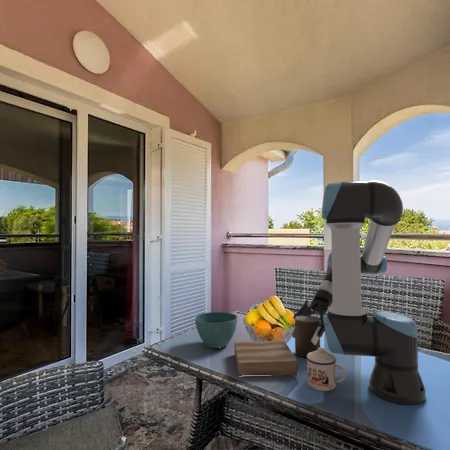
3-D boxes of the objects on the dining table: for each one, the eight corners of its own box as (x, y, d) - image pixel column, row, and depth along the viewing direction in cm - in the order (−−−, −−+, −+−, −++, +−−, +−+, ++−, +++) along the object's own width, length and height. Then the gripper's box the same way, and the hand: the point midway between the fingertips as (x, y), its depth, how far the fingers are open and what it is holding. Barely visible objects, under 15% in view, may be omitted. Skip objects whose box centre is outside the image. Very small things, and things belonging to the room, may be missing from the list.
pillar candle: (316, 359, 122) (315, 319, 123) (291, 354, 128) (291, 316, 128) (323, 351, 131) (322, 314, 131) (299, 347, 136) (299, 311, 136)
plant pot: (186, 348, 137) (186, 319, 137) (209, 336, 153) (209, 309, 153) (224, 356, 128) (224, 325, 128) (244, 342, 144) (244, 314, 144)
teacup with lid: (302, 387, 103) (301, 349, 103) (312, 376, 110) (312, 341, 110) (341, 397, 96) (340, 358, 96) (349, 385, 103) (348, 348, 104)
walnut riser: (297, 375, 111) (297, 360, 111) (238, 377, 110) (238, 362, 110) (284, 353, 131) (283, 340, 131) (234, 354, 130) (234, 342, 130)
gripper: (354, 303, 130) (331, 353, 120) (308, 295, 148) (285, 337, 138) (346, 292, 127) (322, 341, 117) (301, 285, 145) (276, 327, 135)
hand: (302, 339), depth 127 cm, fingers closed on pillar candle, 9 cm apart
